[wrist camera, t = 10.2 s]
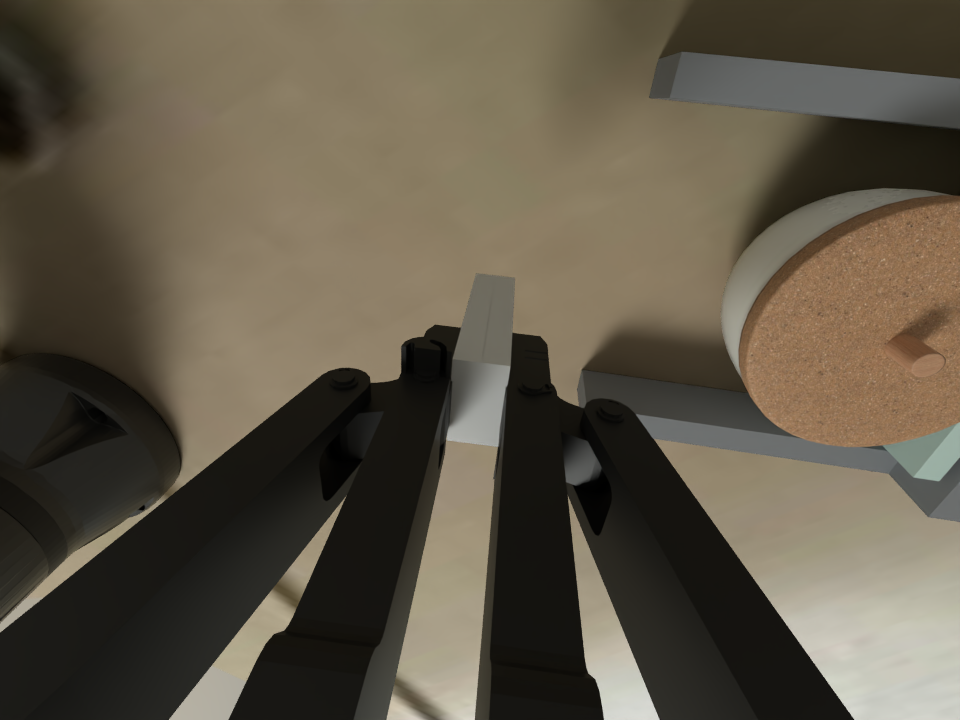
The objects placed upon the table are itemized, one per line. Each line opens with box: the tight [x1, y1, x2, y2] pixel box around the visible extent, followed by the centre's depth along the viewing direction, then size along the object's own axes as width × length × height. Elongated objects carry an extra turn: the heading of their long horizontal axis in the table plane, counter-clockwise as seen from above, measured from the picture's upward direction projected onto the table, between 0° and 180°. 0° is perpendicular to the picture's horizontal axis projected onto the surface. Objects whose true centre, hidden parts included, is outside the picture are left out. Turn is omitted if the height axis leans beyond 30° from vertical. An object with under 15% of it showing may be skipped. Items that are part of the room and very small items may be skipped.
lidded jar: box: [720, 188, 960, 447], centre depth 20 cm, size 11×11×9 cm
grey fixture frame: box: [577, 52, 960, 522], centre depth 21 cm, size 18×18×7 cm
